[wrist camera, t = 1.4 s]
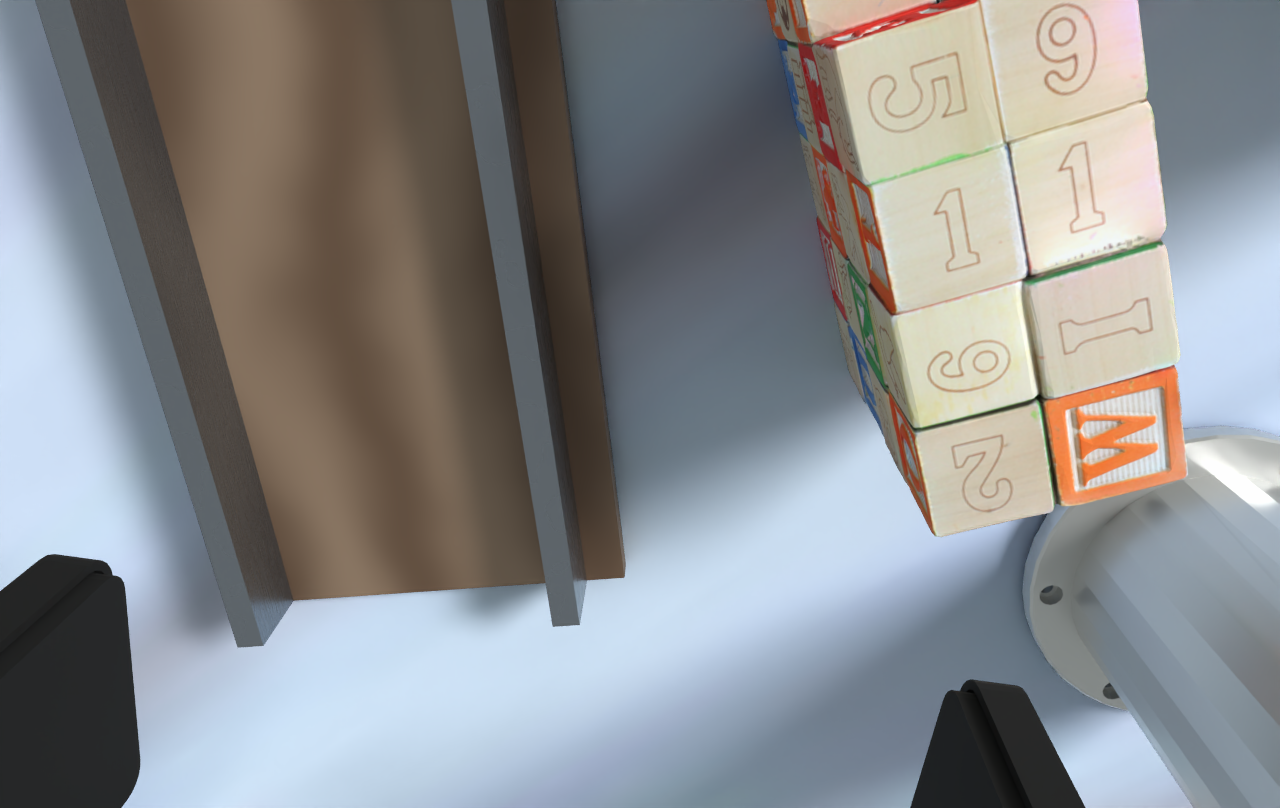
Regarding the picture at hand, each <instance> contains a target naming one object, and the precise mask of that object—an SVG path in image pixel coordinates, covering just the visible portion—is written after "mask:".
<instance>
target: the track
mask: <svg viewBox="0 0 1280 808" xmlns="http://www.w3.org/2000/svg"><path fill="white" fill-rule="evenodd" d="M35 1H36V4H37V7H38V11H39V14H40V17H41V20H42V23H43V27H44V30H45V33H46V36H47V39H48V43H49V46H50V49H51V52H52V55H53V59H54V62H55V65H56V68H57V71H58V75H59V78H60V81H61V84H62V87H63V91H64V94H65V97H66V100H67V103H68V107H69V110H70V113H71V116H72V119H73V122H74V126H75V129H76V132H77V135H78V138H79V142H80V145H81V148H82V151H83V154H84V158H85V161H86V164H87V167H88V170H89V174H90V177H91V180H92V183H93V186H94V190H95V193H96V196H97V199H98V202H99V206H100V209H101V212H102V215H103V218H104V222H105V225H106V228H107V231H108V234H109V238H110V241H111V244H112V247H113V250H114V254H115V257H116V260H117V263H118V266H119V270H120V273H121V276H122V279H123V282H124V286H125V289H126V292H127V295H128V298H129V301H130V305H131V308H132V311H133V314H134V317H135V321H136V324H137V327H138V330H139V333H140V337H141V340H142V343H143V346H144V349H145V353H146V356H147V359H148V362H149V365H150V369H151V372H152V375H153V378H154V381H155V385H156V388H157V391H158V394H159V397H160V401H161V404H162V407H163V410H164V413H165V417H166V420H167V423H168V426H169V429H170V433H171V436H172V439H173V442H174V445H175V449H176V452H177V455H178V458H179V461H180V465H181V468H182V471H183V474H184V477H185V480H186V484H187V487H188V490H189V493H190V496H191V500H192V503H193V506H194V509H195V512H196V516H197V519H198V522H199V525H200V528H201V532H202V535H203V538H204V541H205V544H206V548H207V551H208V554H209V557H210V560H211V564H212V567H213V570H214V573H215V576H216V580H217V583H218V586H219V589H220V592H221V596H222V599H223V602H224V605H225V608H226V612H227V615H228V618H229V621H230V624H231V628H232V631H233V634H234V637H235V640H236V644H237V647H252V646H264V644H265V643H266V641H267V640H268V638H269V637H270V635H271V634H272V632H273V631H274V629H275V628H276V626H277V625H278V623H279V622H280V620H281V619H282V617H283V616H284V614H285V613H286V611H287V610H288V608H289V607H290V605H291V604H292V602H293V601H294V600H308V599H323V598H337V597H351V596H366V595H380V594H395V593H409V592H424V591H438V590H452V589H467V588H481V587H496V586H510V585H524V584H539V583H546V588H547V594H548V600H549V606H550V613H551V619H552V625H553V627H555V626H570V625H580V620H581V614H582V608H583V601H584V595H585V589H586V583H587V580H596V579H611V578H624V577H625V567H626V562H625V554H624V546H623V538H622V530H621V522H620V514H619V506H618V498H617V490H616V482H615V474H614V466H613V458H612V450H611V442H610V434H609V426H608V418H607V410H606V402H605V394H604V386H603V378H602V370H601V362H600V354H599V346H598V338H597V330H596V322H595V314H594V306H593V298H592V290H591V282H590V274H589V266H588V258H587V249H586V241H585V233H584V225H583V217H582V209H581V201H580V193H579V185H578V177H577V169H576V161H575V153H574V145H573V137H572V129H571V121H570V113H569V105H568V97H567V89H566V81H565V73H564V65H563V57H562V49H561V41H560V33H559V25H558V17H557V9H556V1H555V0H35Z"/></svg>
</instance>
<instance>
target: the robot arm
mask: <svg viewBox="0 0 1280 808" xmlns="http://www.w3.org/2000/svg"><path fill="white" fill-rule="evenodd" d="M1183 432H1184V441H1185V450H1186V459H1187V471H1188V475H1187V476H1186V477H1185V478H1183V479H1180V480H1177V481H1174V482H1170V483H1166V484H1162V485H1158V486H1154V487H1150V488H1146V489H1142V490H1138V491H1134V492H1130V493H1126V494H1122V495H1118V496H1114V497H1109V498H1105V499H1101V500H1097V501H1093V502H1089V503H1085V504H1081V505H1075V506H1064V507H1062V506H1060V505H1059V504H1055V507H1054V509H1053V511H1052V512H1050V513H1048V514H1047V516H1046V518H1045V520H1044V521H1043V523H1042V525H1041V527H1040V528H1039V530H1038V532H1037V534H1036V535H1035V537H1034V539H1033V542H1032V545H1031V548H1030V551H1029V554H1028V557H1027V560H1026V563H1025V569H1024V578H1023V587H1022V594H1023V602H1024V611H1025V616H1026V619H1027V622H1028V624H1029V627H1030V630H1031V632H1032V635H1033V638H1034V639H1035V641H1036V643H1037V644H1038V646H1039V647H1040V649H1041V651H1042V653H1043V654H1044V656H1045V658H1046V660H1047V661H1048V662H1049V663H1050V665H1051V666H1052V667H1053V668H1054V669H1055V670H1056V672H1057V673H1058V674H1059V675H1060V676H1061V677H1062V678H1063V679H1064V680H1065V681H1066V682H1068V683H1069V684H1070V685H1072V686H1073V687H1074V688H1076V689H1077V690H1078V691H1080V692H1081V693H1082V694H1084V695H1086V696H1088V697H1090V698H1092V699H1094V700H1096V701H1098V702H1100V703H1102V704H1105V705H1107V706H1111V707H1114V708H1118V709H1122V710H1126V711H1129V712H1130V713H1131V715H1132V716H1133V718H1134V719H1135V721H1136V722H1137V724H1138V725H1139V727H1140V728H1141V730H1142V731H1143V733H1144V734H1145V736H1146V737H1147V739H1148V740H1149V742H1150V743H1151V745H1152V746H1153V748H1154V749H1155V751H1156V752H1157V754H1158V755H1159V757H1160V758H1161V760H1162V761H1163V763H1164V764H1165V766H1166V767H1167V769H1168V770H1169V772H1170V773H1171V775H1172V776H1173V778H1174V779H1175V781H1176V782H1177V784H1178V785H1179V787H1180V788H1181V790H1182V791H1183V793H1184V794H1185V796H1186V797H1187V799H1188V800H1189V802H1190V803H1191V805H1192V806H1193V808H1280V436H1278V435H1274V434H1271V433H1267V432H1264V431H1260V430H1257V429H1252V428H1242V427H1231V426H1211V427H1198V428H1187V429H1183ZM139 770H140V751H139V740H138V729H137V718H136V706H135V695H134V684H133V672H132V661H131V650H130V639H129V627H128V616H127V605H126V593H125V586H124V582H123V581H122V579H121V578H120V577H118V576H113V575H112V571H111V568H110V567H109V565H108V564H107V563H105V562H103V561H101V560H93V559H86V558H79V557H71V556H64V555H57V554H53V555H47V556H45V557H43V558H42V559H40V560H39V561H37V562H36V563H35V564H34V565H32V566H31V567H30V568H29V569H27V570H26V571H25V572H24V573H22V574H21V575H20V576H19V577H17V578H16V579H15V580H14V581H12V582H11V583H10V584H9V585H7V586H6V587H5V588H4V589H2V590H1V591H0V808H121V807H122V806H123V805H124V803H125V802H126V801H127V799H128V798H129V796H130V795H131V793H132V791H133V789H134V787H135V785H136V782H137V779H138V775H139ZM910 808H1085V806H1084V804H1083V802H1082V800H1081V798H1080V796H1079V794H1078V792H1077V790H1076V789H1075V787H1074V785H1073V783H1072V781H1071V779H1070V777H1069V775H1068V773H1067V771H1066V769H1065V767H1064V765H1063V763H1062V761H1061V760H1060V758H1059V756H1058V754H1057V752H1056V750H1055V748H1054V746H1053V744H1052V742H1051V740H1050V738H1049V736H1048V734H1047V732H1046V730H1045V729H1044V727H1043V725H1042V723H1041V721H1040V719H1039V717H1038V715H1037V713H1036V711H1035V709H1034V707H1033V705H1032V703H1031V701H1030V699H1029V698H1028V696H1027V694H1026V693H1025V691H1024V690H1023V688H1021V687H1019V686H1015V685H1008V684H1000V683H993V682H986V681H978V680H968V681H966V682H965V683H964V684H963V686H962V688H961V690H960V691H954V690H950V691H948V692H947V694H946V695H945V697H944V700H943V703H942V706H941V709H940V713H939V716H938V719H937V722H936V726H935V729H934V732H933V735H932V739H931V742H930V745H929V749H928V752H927V755H926V758H925V762H924V765H923V768H922V771H921V775H920V778H919V781H918V785H917V788H916V791H915V794H914V798H913V801H912V804H911V807H910Z"/></svg>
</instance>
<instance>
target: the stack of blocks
mask: <svg viewBox="0 0 1280 808" xmlns="http://www.w3.org/2000/svg"><path fill="white" fill-rule="evenodd" d="M766 1H767V6H768V10H769V14H770V19H771V23H772V29H773V32H774V35H775V37H776V38H777V40H778V43H779V48H780V53H781V57H782V62H783V66H784V71H785V75H786V79H787V84H788V88H789V93H790V98H791V102H792V107H793V112H794V116H795V120H796V125H797V128H798V131H799V134H800V140H801V145H802V149H803V154H804V158H805V163H806V167H807V172H808V176H809V180H810V185H811V189H812V194H813V198H814V202H815V207H816V211H817V214H818V215H817V225H818V229H819V234H820V239H821V244H822V248H823V252H824V257H825V261H826V266H827V271H828V275H829V280H830V284H831V289H832V293H833V298H834V306H835V311H836V316H837V320H838V325H839V329H840V334H841V339H842V343H843V348H844V352H845V357H846V361H847V366H848V370H849V373H850V375H851V377H852V379H853V381H854V382H855V384H856V386H857V388H858V390H859V393H860V395H861V397H862V399H863V400H864V402H865V403H867V404H868V406H869V408H870V411H871V412H872V414H873V416H874V418H875V419H876V421H877V423H878V425H879V427H880V430H881V432H882V434H883V436H884V439H885V443H886V445H887V447H888V449H889V450H890V453H891V455H892V457H893V459H894V462H895V464H896V466H897V468H898V470H899V471H900V473H901V475H902V476H903V478H904V480H905V482H906V483H907V485H908V486H909V487H910V490H911V492H912V494H913V496H914V498H915V500H916V502H917V504H918V506H919V508H920V510H921V512H922V514H923V516H924V518H925V520H926V522H927V524H928V526H929V528H930V530H931V532H932V533H933V534H934V535H935V536H938V537H943V536H947V535H951V534H956V533H960V532H964V531H968V530H973V529H977V528H981V527H986V526H990V525H995V524H999V523H1003V522H1008V521H1012V520H1017V519H1022V518H1027V517H1032V516H1037V515H1041V514H1046V513H1050V512H1052V511H1053V509H1054V507H1055V504H1059V505H1060V506H1062V507H1064V506H1075V505H1081V504H1085V503H1089V502H1093V501H1097V500H1101V499H1105V498H1109V497H1114V496H1118V495H1122V494H1126V493H1130V492H1134V491H1138V490H1142V489H1146V488H1150V487H1154V486H1158V485H1162V484H1166V483H1170V482H1174V481H1177V480H1180V479H1183V478H1185V477H1186V476H1187V475H1188V471H1187V459H1186V450H1185V441H1184V432H1183V423H1182V410H1181V402H1180V392H1179V382H1178V373H1177V370H1176V368H1175V366H1174V364H1176V363H1177V362H1178V361H1179V358H1180V349H1179V342H1178V331H1177V323H1176V317H1175V308H1174V299H1173V290H1172V282H1171V274H1170V267H1169V260H1168V253H1167V249H1166V247H1165V245H1164V244H1163V242H1162V241H1161V237H1162V235H1163V233H1164V232H1165V229H1166V227H1167V220H1166V212H1165V201H1164V195H1163V189H1162V180H1161V169H1160V163H1159V155H1158V147H1157V139H1156V130H1155V122H1154V114H1153V111H1152V107H1151V105H1150V104H1149V102H1148V100H1147V99H1146V97H1147V92H1148V79H1147V71H1146V63H1145V55H1144V47H1143V39H1142V31H1141V22H1140V13H1139V5H1138V0H766Z"/></svg>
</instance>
